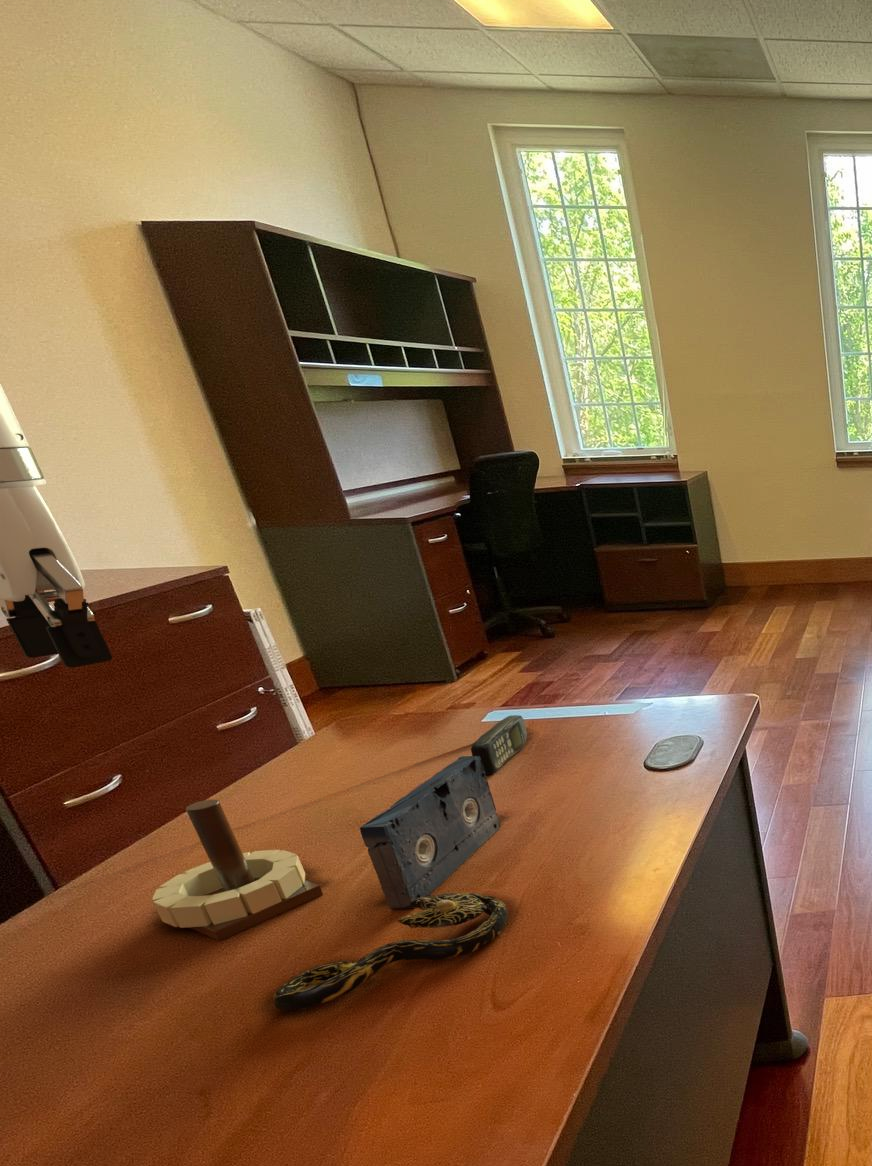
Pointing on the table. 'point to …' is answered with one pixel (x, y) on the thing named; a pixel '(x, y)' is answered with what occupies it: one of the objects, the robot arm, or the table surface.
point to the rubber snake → (400, 948)
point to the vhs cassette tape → (431, 831)
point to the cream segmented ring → (191, 908)
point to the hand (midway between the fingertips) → (69, 657)
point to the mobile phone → (500, 743)
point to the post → (234, 869)
